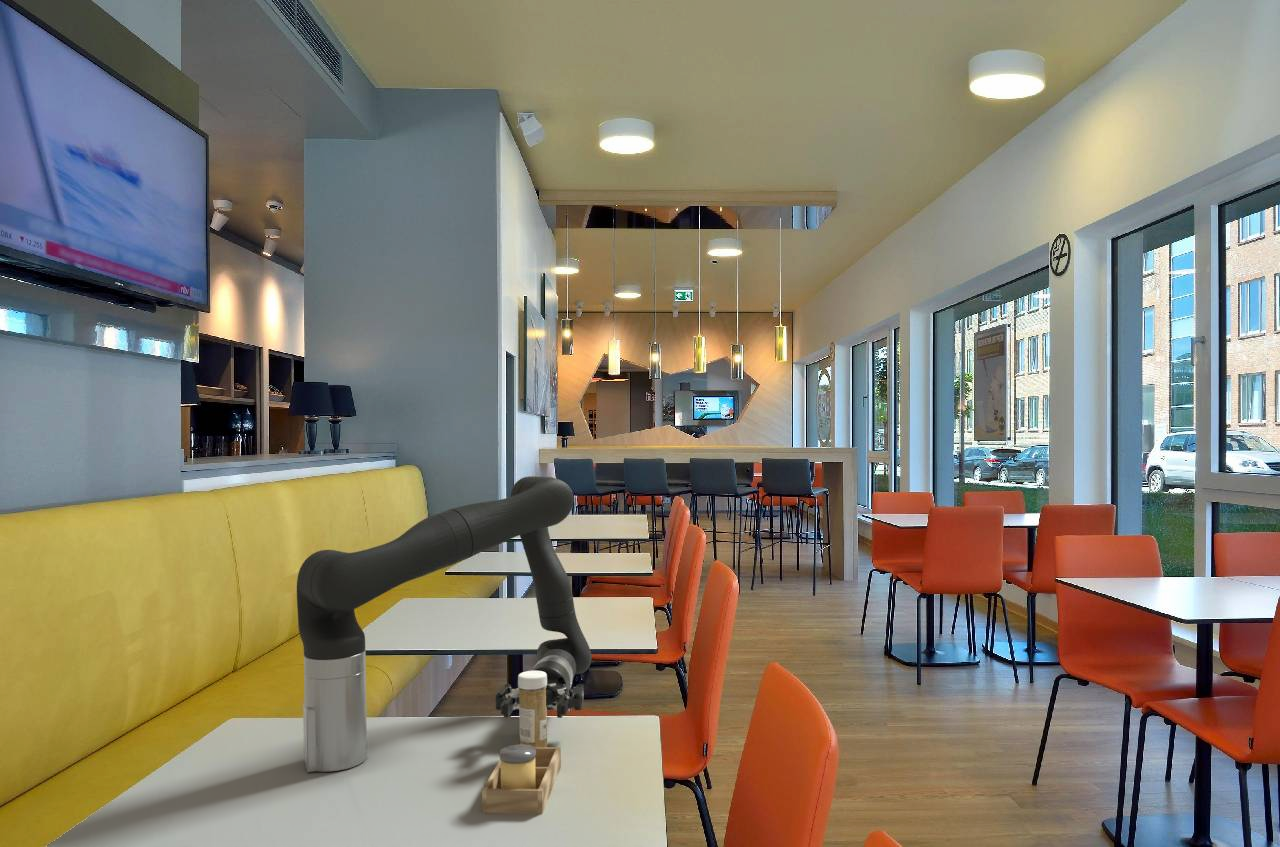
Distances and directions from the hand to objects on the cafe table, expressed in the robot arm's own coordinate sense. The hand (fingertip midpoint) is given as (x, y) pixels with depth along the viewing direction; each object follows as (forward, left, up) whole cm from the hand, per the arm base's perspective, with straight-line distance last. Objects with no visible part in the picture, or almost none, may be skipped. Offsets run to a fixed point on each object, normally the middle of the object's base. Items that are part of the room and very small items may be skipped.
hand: (532, 711), depth 136 cm
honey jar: (-7, -14, -7) cm, 18 cm away
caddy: (-5, -11, -8) cm, 14 cm away
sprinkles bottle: (0, 0, -8) cm, 8 cm away
